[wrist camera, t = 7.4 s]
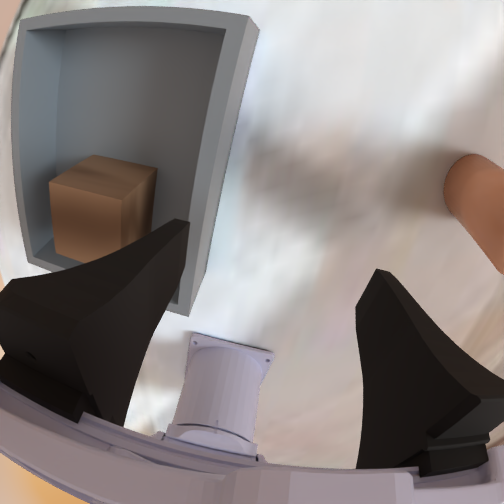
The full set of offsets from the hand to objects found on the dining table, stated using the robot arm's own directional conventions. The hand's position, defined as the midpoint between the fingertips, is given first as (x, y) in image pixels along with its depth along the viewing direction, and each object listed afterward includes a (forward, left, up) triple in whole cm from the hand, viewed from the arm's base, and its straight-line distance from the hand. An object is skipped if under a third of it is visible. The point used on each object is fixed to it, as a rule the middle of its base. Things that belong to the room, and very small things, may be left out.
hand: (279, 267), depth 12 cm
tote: (0, +11, -10) cm, 14 cm away
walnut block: (-3, +11, -9) cm, 14 cm away
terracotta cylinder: (+4, -13, -10) cm, 17 cm away
